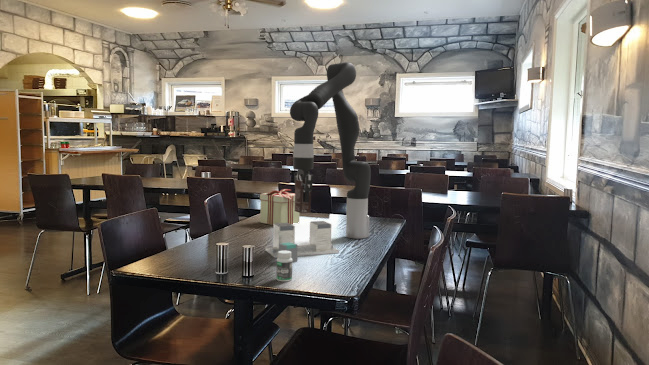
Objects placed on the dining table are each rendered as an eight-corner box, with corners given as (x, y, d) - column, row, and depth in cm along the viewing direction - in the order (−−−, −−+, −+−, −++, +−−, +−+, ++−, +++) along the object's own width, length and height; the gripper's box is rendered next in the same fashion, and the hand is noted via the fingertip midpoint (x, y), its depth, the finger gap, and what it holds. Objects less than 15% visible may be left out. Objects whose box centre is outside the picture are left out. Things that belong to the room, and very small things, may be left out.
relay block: (290, 259, 168) (291, 242, 168) (297, 261, 165) (297, 244, 165) (278, 261, 165) (278, 243, 165) (285, 263, 162) (285, 245, 162)
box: (311, 213, 177) (312, 180, 176) (300, 213, 175) (300, 180, 174) (305, 210, 182) (305, 179, 182) (294, 211, 181) (294, 179, 180)
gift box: (287, 227, 232) (287, 192, 230) (257, 223, 242) (258, 189, 240) (307, 223, 246) (307, 189, 244) (279, 219, 256) (279, 187, 254)
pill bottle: (273, 280, 141) (273, 252, 141) (280, 276, 146) (280, 249, 145) (288, 282, 140) (288, 254, 139) (294, 278, 144) (295, 250, 144)
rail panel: (326, 246, 190) (327, 219, 189) (339, 252, 179) (339, 224, 178) (265, 250, 181) (265, 222, 180) (274, 257, 170) (274, 228, 169)
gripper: (320, 157, 172) (319, 203, 173) (306, 155, 185) (305, 199, 187) (300, 156, 169) (299, 204, 170) (287, 155, 182) (287, 199, 184)
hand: (303, 201), depth 178 cm, fingers closed on box, 6 cm apart
